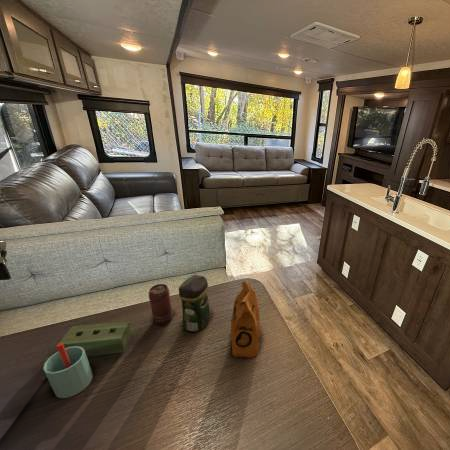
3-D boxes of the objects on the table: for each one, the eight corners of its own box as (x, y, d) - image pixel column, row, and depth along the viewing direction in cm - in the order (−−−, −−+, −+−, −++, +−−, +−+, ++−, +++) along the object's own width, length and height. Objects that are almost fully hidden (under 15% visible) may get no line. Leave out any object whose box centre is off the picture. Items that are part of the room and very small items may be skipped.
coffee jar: (194, 311, 95) (190, 270, 88) (213, 315, 94) (211, 274, 87) (179, 330, 86) (173, 287, 79) (200, 334, 85) (195, 291, 78)
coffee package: (227, 360, 78) (225, 305, 69) (233, 329, 89) (232, 278, 80) (259, 359, 79) (261, 305, 70) (261, 329, 90) (263, 279, 81)
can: (149, 321, 89) (143, 290, 83) (165, 311, 94) (160, 281, 88) (160, 329, 86) (155, 297, 81) (176, 317, 91) (172, 287, 86)
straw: (70, 384, 66) (55, 347, 61) (73, 380, 67) (58, 343, 62) (75, 383, 67) (60, 346, 61) (78, 379, 68) (63, 342, 62)
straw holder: (124, 352, 77) (120, 338, 75) (63, 359, 73) (57, 344, 71) (132, 334, 83) (129, 320, 81) (77, 340, 79) (71, 326, 77)
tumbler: (47, 400, 63) (35, 375, 59) (66, 372, 70) (56, 348, 66) (83, 395, 65) (73, 370, 61) (98, 368, 72) (90, 344, 68)
